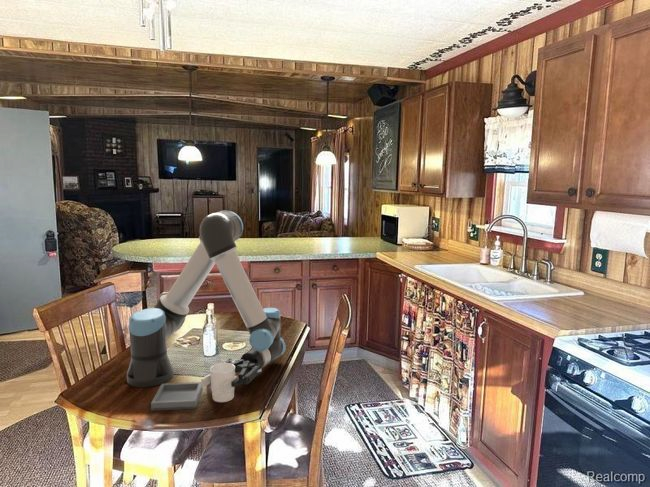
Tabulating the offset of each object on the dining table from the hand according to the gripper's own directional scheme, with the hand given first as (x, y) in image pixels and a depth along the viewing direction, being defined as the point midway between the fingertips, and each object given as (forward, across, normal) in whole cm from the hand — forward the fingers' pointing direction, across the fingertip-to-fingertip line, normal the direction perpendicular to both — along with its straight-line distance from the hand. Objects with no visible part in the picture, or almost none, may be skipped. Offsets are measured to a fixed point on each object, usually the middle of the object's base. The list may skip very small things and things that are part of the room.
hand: (212, 385), depth 139 cm
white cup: (-5, 0, -6) cm, 8 cm away
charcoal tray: (+3, +12, -6) cm, 14 cm away
